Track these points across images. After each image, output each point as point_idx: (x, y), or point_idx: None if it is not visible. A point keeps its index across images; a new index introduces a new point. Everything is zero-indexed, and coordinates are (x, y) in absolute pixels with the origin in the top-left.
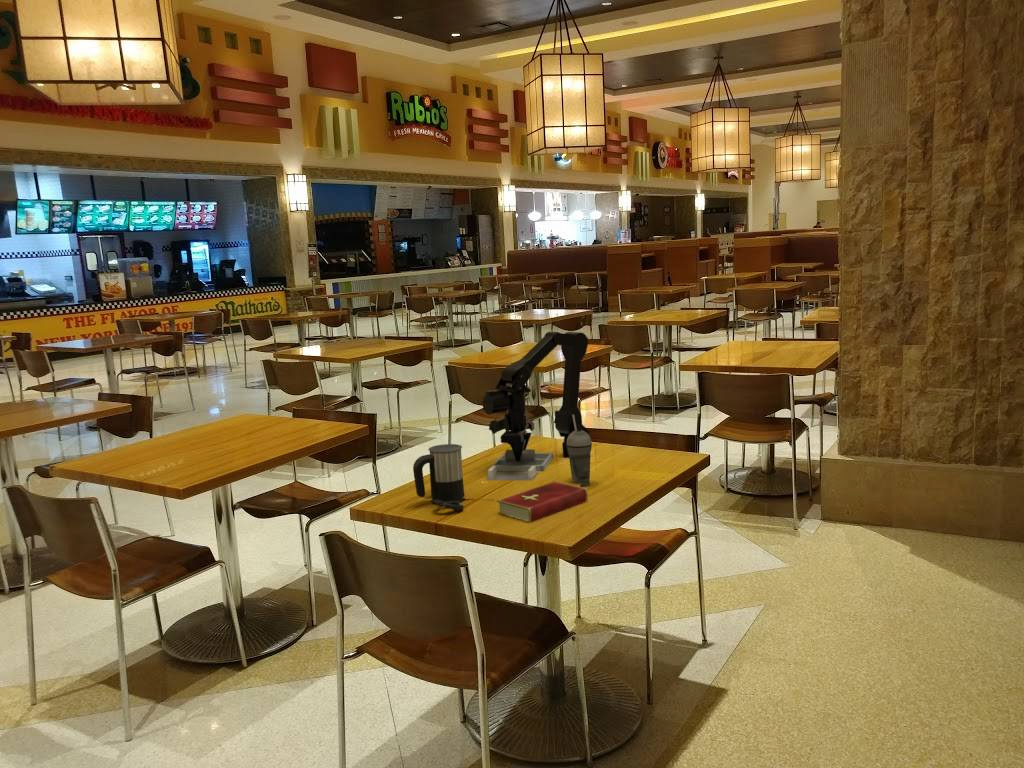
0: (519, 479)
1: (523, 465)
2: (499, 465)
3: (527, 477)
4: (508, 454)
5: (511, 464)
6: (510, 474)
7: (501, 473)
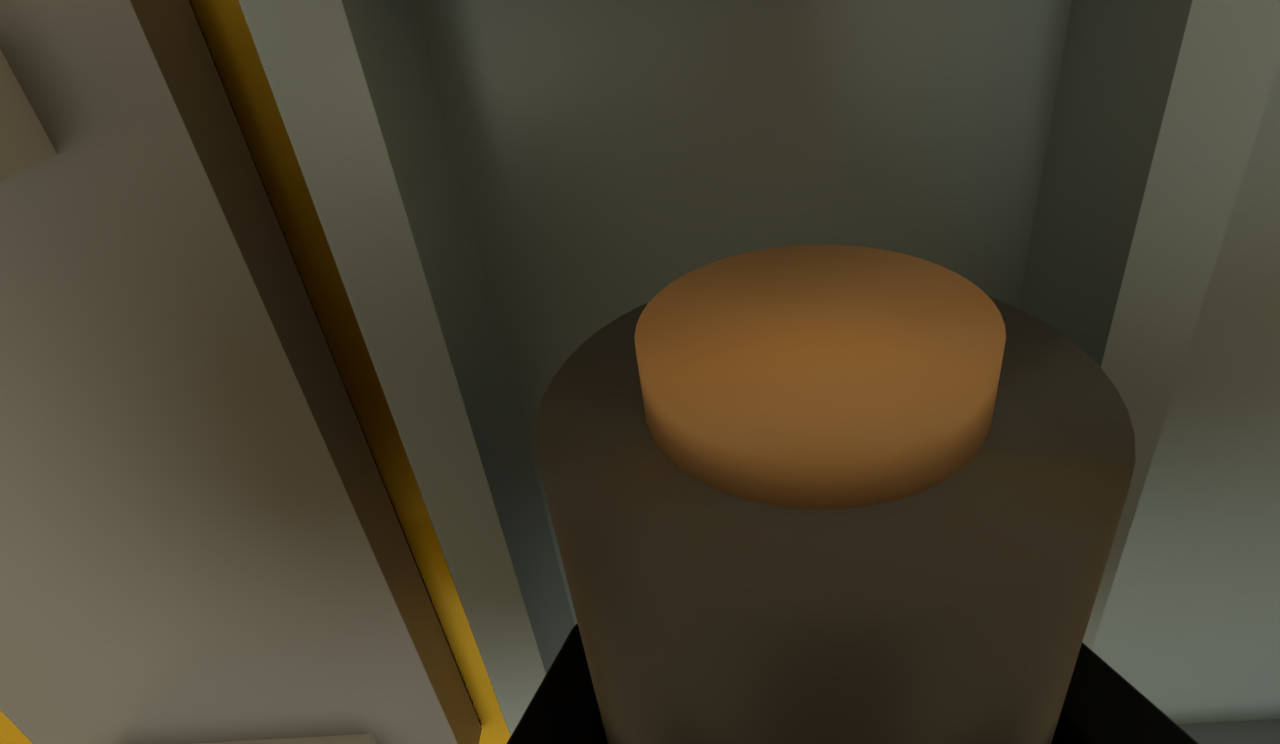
0: (3, 669)
1: (529, 678)
2: (363, 145)
3: (166, 726)
4: (578, 608)
5: (1048, 211)
6: (183, 469)
7: (149, 266)
